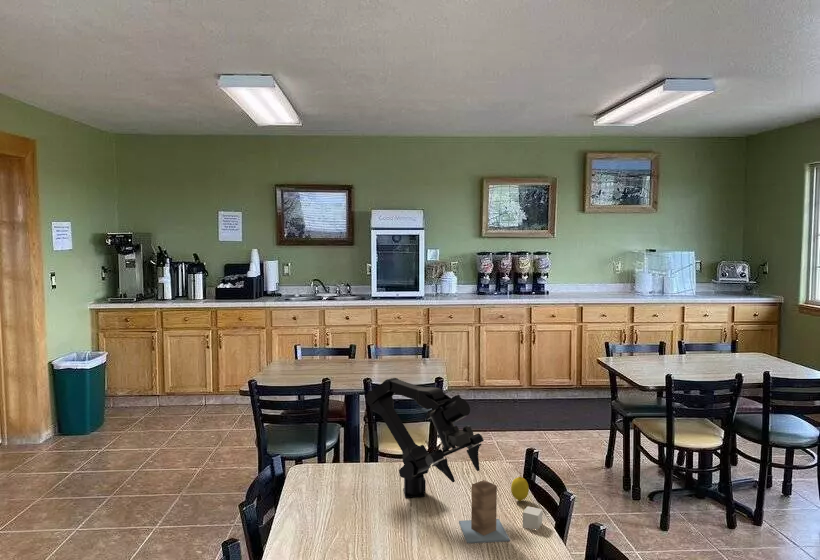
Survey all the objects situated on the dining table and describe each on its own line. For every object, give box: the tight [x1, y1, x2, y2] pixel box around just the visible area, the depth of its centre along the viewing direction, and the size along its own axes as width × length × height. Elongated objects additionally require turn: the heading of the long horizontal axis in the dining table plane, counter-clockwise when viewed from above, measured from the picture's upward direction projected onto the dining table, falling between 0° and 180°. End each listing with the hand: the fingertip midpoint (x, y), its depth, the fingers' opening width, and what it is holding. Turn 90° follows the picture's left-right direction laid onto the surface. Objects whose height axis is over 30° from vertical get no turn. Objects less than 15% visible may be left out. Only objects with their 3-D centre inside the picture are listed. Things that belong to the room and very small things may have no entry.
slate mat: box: [458, 518, 511, 544], centre depth 164 cm, size 12×12×1 cm
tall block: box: [470, 479, 498, 535], centre depth 164 cm, size 5×5×13 cm
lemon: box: [510, 476, 530, 502], centre depth 183 cm, size 6×6×8 cm
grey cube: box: [522, 505, 543, 531], centre depth 167 cm, size 4×4×4 cm
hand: (466, 476), depth 173 cm, fingers open, 9 cm apart
